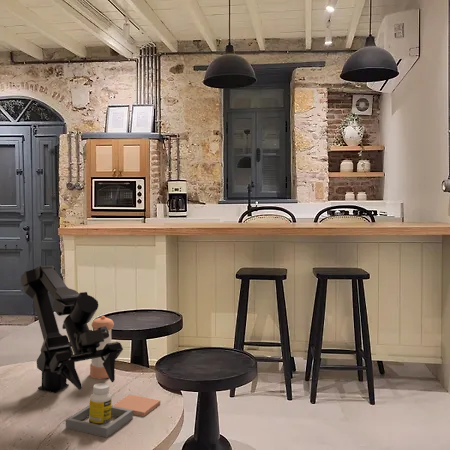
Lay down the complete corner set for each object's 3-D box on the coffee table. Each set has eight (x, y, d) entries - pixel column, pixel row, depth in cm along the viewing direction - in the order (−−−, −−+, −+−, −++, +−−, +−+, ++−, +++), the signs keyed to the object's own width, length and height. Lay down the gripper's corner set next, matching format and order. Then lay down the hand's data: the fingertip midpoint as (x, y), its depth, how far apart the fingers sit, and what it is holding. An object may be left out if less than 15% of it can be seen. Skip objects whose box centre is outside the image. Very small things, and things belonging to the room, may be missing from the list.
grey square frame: (65, 427, 130) (65, 419, 130) (94, 410, 142) (94, 402, 142) (106, 437, 126) (106, 428, 126) (132, 418, 137) (132, 410, 137)
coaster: (111, 409, 143) (112, 405, 142) (129, 397, 151) (129, 394, 151) (144, 416, 139) (144, 412, 139) (160, 404, 147) (160, 400, 147)
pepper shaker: (95, 370, 173) (96, 312, 172) (116, 372, 172) (117, 314, 171) (86, 377, 166) (87, 317, 165) (108, 379, 165) (109, 319, 164)
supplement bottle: (105, 429, 131) (106, 390, 130) (85, 426, 132) (86, 388, 131) (114, 420, 136) (115, 383, 135) (94, 417, 137) (95, 380, 137)
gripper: (54, 321, 132) (73, 376, 124) (120, 312, 144) (140, 362, 136) (42, 345, 138) (58, 399, 130) (105, 334, 150) (124, 383, 143)
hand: (97, 385), depth 135 cm, fingers open, 9 cm apart
